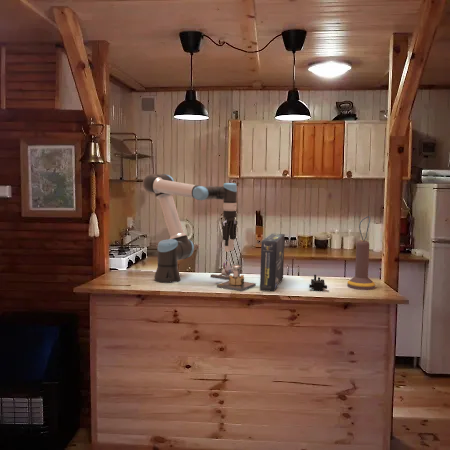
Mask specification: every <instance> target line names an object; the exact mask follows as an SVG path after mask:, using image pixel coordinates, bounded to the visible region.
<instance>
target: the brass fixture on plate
mask: <svg viewBox="0 0 450 450" xmlns="http://www.w3.org/2000/svg"><path fill="white" fill-rule="evenodd" d="M231 267H232V268H233V271H232V276H233V278H237V277H239V278H240V276H241V275H240V273H241V269H242V265H237V264H235V265H232V266H231ZM256 286H257V283H255V282H248V281H244V284H243V285H231V284H229V280H227V281H224V282H221V283H218V284H216V289H222V288H223V289H224V290H228V291H229V290H231V291H236V292H244V291H246V290H249V288H250V289H252V288H254V287H256Z"/></svg>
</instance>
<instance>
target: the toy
mask: <svg viewBox="0 0 450 450" xmlns="http://www.w3.org/2000/svg"><path fill="white" fill-rule="evenodd" d="M310 282H311V283H310V284H309V285H308V288H309V289H312V288H313V292H323V291H324V289H326V290H327V289H328V285H327V284H326V283H325V279H323V278H321V277H319V276H318V277H317V274H313V278H311V279H310Z"/></svg>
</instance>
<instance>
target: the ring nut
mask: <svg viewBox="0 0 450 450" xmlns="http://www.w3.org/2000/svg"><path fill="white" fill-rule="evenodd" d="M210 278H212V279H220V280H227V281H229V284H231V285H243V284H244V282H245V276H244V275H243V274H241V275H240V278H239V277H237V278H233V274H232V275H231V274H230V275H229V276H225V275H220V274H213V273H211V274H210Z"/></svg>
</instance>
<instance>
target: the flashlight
mask: <svg viewBox="0 0 450 450" xmlns="http://www.w3.org/2000/svg"><path fill="white" fill-rule="evenodd" d="M368 218H369V220H368V224H367V228H366V233H365V237H364V238H363V235H362V231H361V223H362V222H363V221H364V220H365V219H368ZM370 222H371V217H370V216H366V217H364V218H363V219H361V221H360V222H359V227H358V228H359V232H360V236H361V239H362V240H361V239H360V240H358V241H356V244H355V246H356V247H355V269H354V270H355V271H354V277H352V278H350V279H348V281H347V288H349V289H354V290H358V291H359V290H361V291H371V290H375V288H376V283H375V282H374V281H373V280H372V279H370V277H369V264H370V261H369V260H370V243H369V242H370V241H367V240H366V239H367V236H368V231H369V227H370Z"/></svg>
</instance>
